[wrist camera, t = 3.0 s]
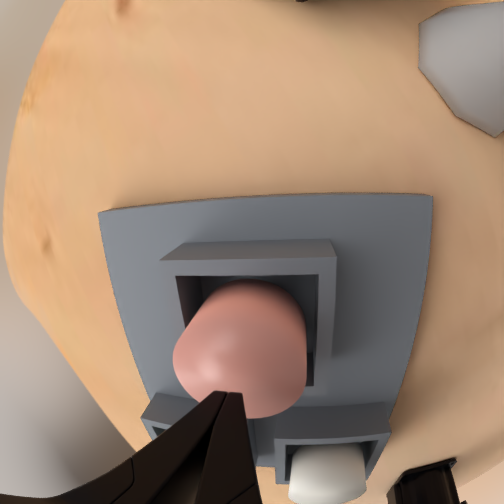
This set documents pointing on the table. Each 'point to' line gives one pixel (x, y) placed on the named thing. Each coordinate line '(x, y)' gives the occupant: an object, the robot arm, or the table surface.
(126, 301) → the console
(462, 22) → the flask
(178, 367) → the button coral
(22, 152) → the table surface
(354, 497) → the button ivory
